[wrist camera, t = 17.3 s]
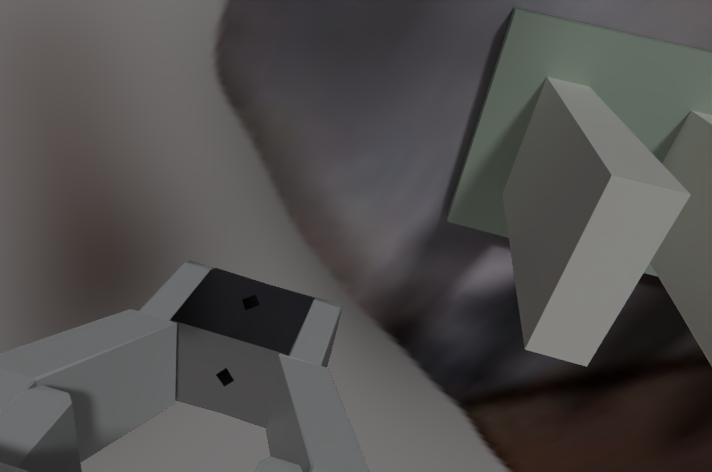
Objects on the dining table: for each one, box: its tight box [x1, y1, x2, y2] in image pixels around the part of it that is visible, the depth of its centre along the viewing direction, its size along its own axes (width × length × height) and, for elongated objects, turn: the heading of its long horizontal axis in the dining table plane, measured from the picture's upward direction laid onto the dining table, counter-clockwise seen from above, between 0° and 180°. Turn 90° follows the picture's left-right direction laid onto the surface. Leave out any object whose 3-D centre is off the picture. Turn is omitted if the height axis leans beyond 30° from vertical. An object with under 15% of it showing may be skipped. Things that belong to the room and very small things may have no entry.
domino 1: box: [502, 77, 691, 366], centre depth 17 cm, size 2×6×11 cm, turn 169°
